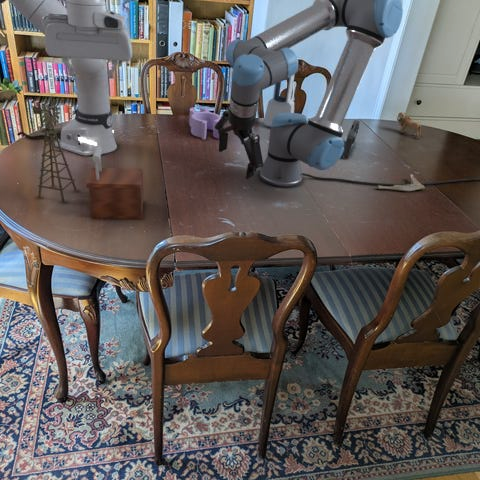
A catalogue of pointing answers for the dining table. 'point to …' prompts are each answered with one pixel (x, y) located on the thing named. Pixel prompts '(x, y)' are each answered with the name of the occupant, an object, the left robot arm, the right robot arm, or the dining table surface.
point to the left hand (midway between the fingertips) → (91, 76)
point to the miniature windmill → (52, 147)
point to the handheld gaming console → (351, 139)
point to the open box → (116, 202)
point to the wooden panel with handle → (113, 175)
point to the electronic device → (279, 102)
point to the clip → (203, 122)
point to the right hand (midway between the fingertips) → (236, 163)
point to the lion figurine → (408, 124)
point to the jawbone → (405, 186)
